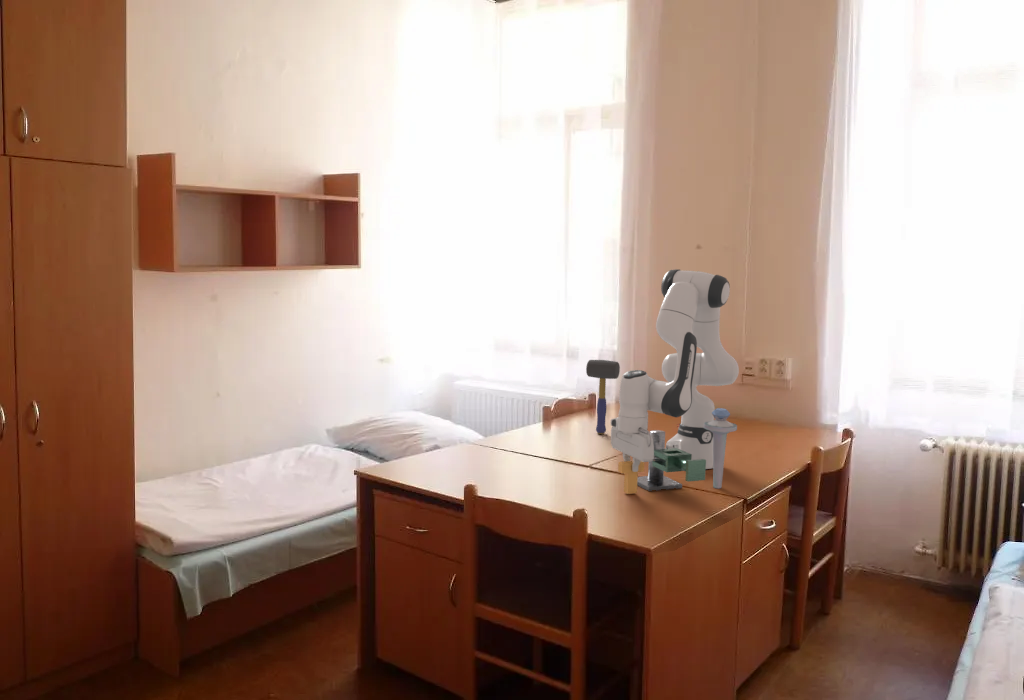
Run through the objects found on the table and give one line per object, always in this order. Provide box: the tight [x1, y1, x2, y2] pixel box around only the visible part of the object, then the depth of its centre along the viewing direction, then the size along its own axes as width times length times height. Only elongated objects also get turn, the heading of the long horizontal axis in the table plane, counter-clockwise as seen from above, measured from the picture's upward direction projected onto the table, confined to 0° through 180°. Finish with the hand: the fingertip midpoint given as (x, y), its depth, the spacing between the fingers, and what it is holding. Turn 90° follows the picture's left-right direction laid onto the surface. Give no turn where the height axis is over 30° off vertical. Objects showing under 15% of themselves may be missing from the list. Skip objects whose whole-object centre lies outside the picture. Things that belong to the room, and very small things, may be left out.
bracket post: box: [637, 429, 707, 492], centre depth 266 cm, size 29×13×17 cm, turn 22°
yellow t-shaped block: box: [617, 460, 645, 495], centre depth 262 cm, size 2×8×10 cm, turn 112°
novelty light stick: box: [704, 407, 738, 489], centre depth 271 cm, size 10×10×25 cm
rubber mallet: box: [585, 359, 621, 435], centre depth 346 cm, size 12×8×30 cm, turn 67°
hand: (631, 469), depth 262 cm, fingers closed on yellow t-shaped block, 2 cm apart
